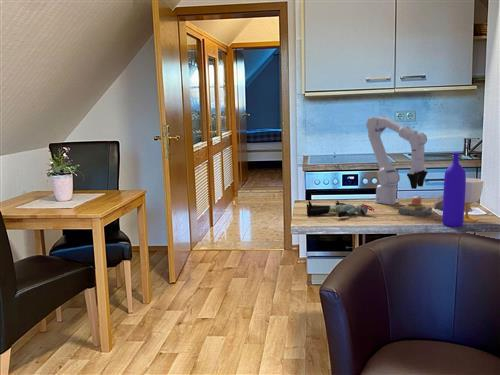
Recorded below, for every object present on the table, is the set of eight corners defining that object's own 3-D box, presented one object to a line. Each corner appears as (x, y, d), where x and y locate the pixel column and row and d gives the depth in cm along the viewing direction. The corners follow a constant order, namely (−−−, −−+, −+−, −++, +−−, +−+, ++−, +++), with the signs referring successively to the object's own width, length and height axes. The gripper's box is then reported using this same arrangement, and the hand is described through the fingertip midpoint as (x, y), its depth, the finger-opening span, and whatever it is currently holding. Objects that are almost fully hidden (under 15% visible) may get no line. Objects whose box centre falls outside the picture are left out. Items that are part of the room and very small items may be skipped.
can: (409, 208, 244) (410, 196, 243) (413, 206, 248) (414, 194, 246) (418, 209, 241) (419, 197, 240) (422, 207, 245) (422, 195, 244)
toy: (310, 195, 250) (373, 193, 244) (310, 210, 252) (373, 209, 245) (304, 206, 226) (374, 204, 219) (305, 223, 227) (375, 221, 221)
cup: (455, 222, 216) (457, 182, 213) (448, 215, 228) (450, 177, 225) (484, 222, 215) (487, 182, 212) (476, 216, 226) (478, 177, 223)
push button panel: (398, 213, 234) (398, 205, 233) (406, 209, 241) (406, 202, 240) (424, 216, 226) (424, 208, 226) (431, 213, 233) (432, 205, 233)
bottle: (456, 228, 206) (459, 154, 201) (437, 224, 212) (440, 152, 207) (467, 225, 211) (471, 152, 205) (449, 221, 217) (452, 151, 212)
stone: (471, 221, 241) (469, 203, 246) (474, 209, 233) (472, 191, 238) (433, 219, 245) (432, 202, 250) (435, 208, 237) (434, 190, 242)
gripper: (419, 160, 233) (419, 190, 235) (431, 157, 243) (431, 185, 246) (405, 160, 237) (404, 189, 239) (417, 157, 248) (416, 184, 250)
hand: (417, 187), depth 243 cm, fingers open, 7 cm apart
